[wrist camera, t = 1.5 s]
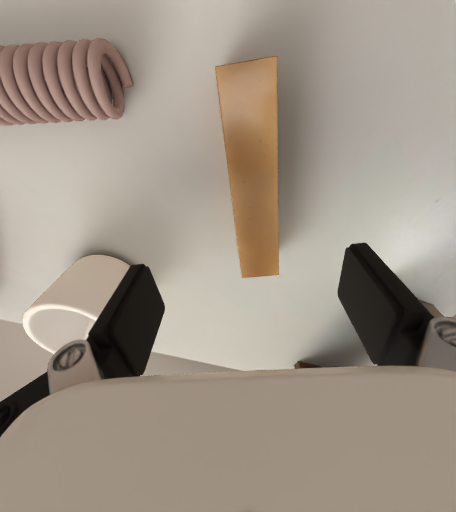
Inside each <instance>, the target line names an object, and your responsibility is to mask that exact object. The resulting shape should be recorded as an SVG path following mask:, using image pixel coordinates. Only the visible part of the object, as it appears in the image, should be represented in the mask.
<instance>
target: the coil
mask: <svg viewBox="0 0 456 512" xmlns="http://www.w3.org/2000/svg"><path fill="white" fill-rule="evenodd" d="M107 56H108V57H109V58H110V60H111V61H112V62H113V64H114V66H115V68H116V69H117V72H118V74H119V76H120V79H121V81H122V85H123V87H131V86H133V84H132V81H131V78H130V75H129V72H128V70H127V67H126V65H125V63H124V61H123V59H122V57H121V56H120V54H119V53H118V51H117V50H116V48H115V47H114V46H113V45H112V44H111V43H109V42H108V41H107V40H105V39H102V38H96V39H94V40H93V41H90V40H86V39H82V40H80V41H79V42H76V41H65V42H64V43H62V42H51V43H49V44H47V43H37V44H35V45H33V44H23V45H21V46H19V45H9V46H6V47H4V46H0V125H13V124H18V125H22V124H25V123H27V124H35V123H37V122H38V123H48V122H54V123H57V122H60V121H64V122H71V121H72V120H75V121H83V120H85V119H87V120H95V119H97V118H99V119H101V120H106V119H108V118H109V117H111V118H113V119H119V118H120V117H122V115H123V112H124V98H123V92H122V88H121V85H120V82H119V79H118V76H117V74H116V71H115V69H114V67H113V65H112V63H111V62H110V60H109V58H108V57H107ZM86 64H87V65H88V67H87V65H86ZM101 66H102V68H103V70H104V72H105V74H106V76H107V78H108V80H109V83H110V86H111V89H112V93H113V99H114V106H113V105H112V97H111V92H110V89H109V86H108V83H107V80H106V77H105V75H104V73H103V71H102V69H101ZM44 78H45V79H44ZM45 80H46V81H45ZM60 84H61V85H60ZM61 87H62V88H61ZM62 89H63V91H64V93H63V91H62ZM64 94H65V95H64ZM53 99H54V100H53Z"/></svg>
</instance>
